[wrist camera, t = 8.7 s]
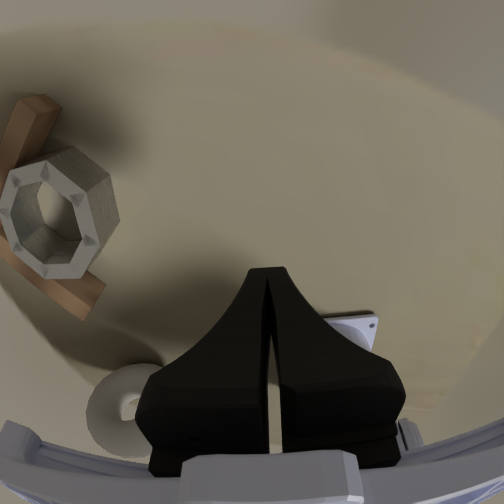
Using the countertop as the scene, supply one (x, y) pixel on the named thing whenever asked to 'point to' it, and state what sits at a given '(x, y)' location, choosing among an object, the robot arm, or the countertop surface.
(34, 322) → the countertop surface
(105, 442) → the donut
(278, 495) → the robot arm
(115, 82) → the countertop surface
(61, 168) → the ring
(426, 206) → the countertop surface
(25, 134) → the vee stop
